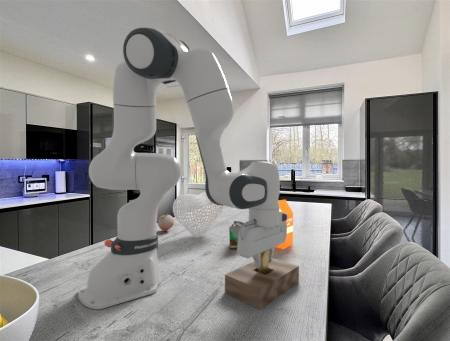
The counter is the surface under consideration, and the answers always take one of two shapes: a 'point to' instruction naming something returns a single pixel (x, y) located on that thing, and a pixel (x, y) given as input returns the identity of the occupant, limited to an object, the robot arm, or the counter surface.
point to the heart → (196, 197)
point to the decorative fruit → (165, 222)
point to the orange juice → (286, 209)
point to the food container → (234, 234)
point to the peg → (264, 262)
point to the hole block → (261, 282)
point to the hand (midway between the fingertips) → (263, 264)
